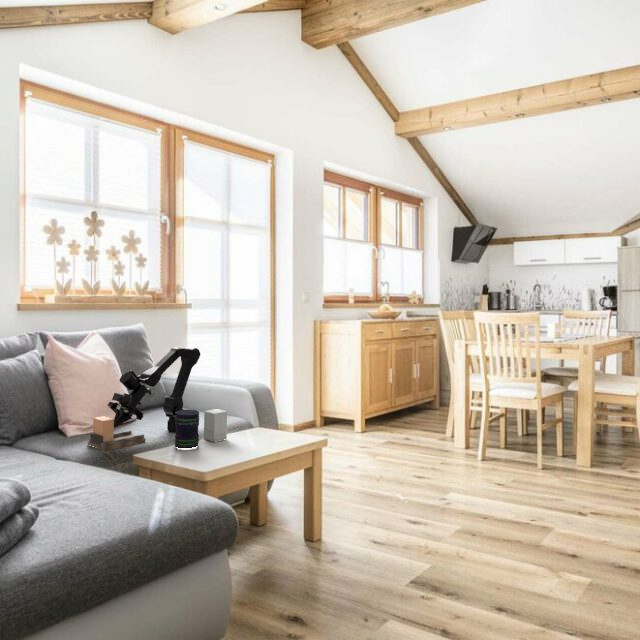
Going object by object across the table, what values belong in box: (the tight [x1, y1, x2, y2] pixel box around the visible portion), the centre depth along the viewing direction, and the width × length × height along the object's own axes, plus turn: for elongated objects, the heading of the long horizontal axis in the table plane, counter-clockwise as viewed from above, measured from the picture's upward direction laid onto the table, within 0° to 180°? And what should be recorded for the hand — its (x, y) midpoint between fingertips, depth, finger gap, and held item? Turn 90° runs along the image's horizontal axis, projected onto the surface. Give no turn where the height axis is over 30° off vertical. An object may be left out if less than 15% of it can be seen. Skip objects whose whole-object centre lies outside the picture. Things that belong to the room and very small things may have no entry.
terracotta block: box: [92, 415, 115, 442], centre depth 267 cm, size 5×7×10 cm
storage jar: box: [174, 409, 200, 448], centre depth 270 cm, size 10×10×15 cm
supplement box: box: [203, 408, 228, 442], centre depth 284 cm, size 7×7×13 cm
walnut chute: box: [87, 429, 147, 452], centre depth 273 cm, size 20×12×6 cm, turn 141°
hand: (113, 426), depth 271 cm, fingers closed
